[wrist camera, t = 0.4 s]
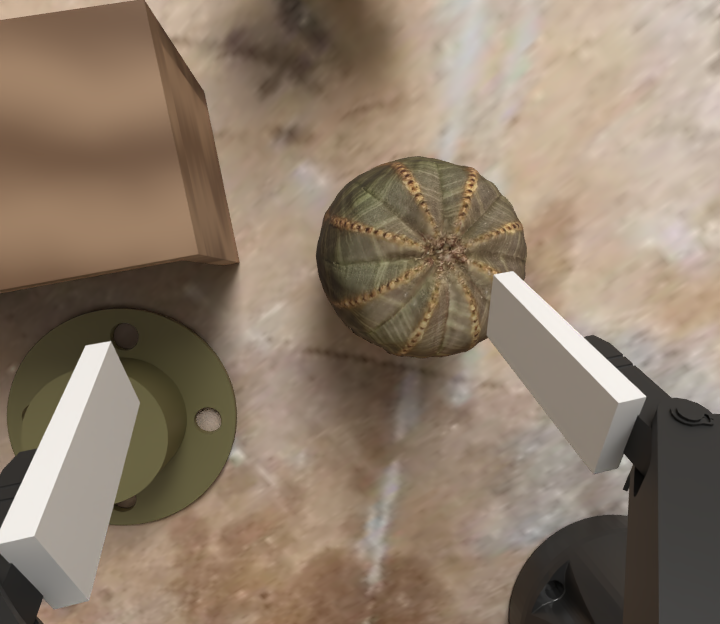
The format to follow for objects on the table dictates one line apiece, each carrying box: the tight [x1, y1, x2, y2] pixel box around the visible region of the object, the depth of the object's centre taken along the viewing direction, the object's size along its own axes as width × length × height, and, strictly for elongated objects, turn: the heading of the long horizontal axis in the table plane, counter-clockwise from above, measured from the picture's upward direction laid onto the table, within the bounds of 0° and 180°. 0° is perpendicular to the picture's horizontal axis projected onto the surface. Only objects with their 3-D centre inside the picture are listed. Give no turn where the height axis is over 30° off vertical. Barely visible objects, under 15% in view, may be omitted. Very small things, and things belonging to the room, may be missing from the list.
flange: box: [7, 308, 237, 525], centre depth 29 cm, size 5×15×15 cm
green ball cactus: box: [316, 156, 527, 358], centre depth 26 cm, size 11×11×12 cm
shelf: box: [0, 0, 239, 293], centre depth 25 cm, size 12×19×10 cm, turn 101°
